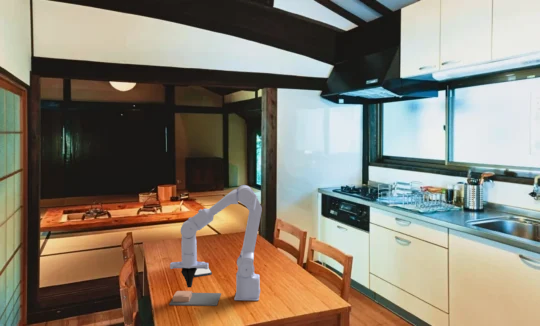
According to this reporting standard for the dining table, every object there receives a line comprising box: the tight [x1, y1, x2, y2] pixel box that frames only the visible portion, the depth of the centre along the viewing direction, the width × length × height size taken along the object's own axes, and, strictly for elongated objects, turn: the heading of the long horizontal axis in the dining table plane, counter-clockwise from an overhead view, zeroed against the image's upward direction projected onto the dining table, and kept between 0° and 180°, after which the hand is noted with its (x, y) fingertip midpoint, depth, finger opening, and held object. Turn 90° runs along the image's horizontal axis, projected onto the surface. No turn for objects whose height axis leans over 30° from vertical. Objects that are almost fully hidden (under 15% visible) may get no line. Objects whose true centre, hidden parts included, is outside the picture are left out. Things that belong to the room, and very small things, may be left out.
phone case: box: [194, 261, 213, 278], centre depth 172 cm, size 9×2×16 cm
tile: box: [172, 290, 193, 302], centre depth 141 cm, size 2×5×6 cm
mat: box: [169, 292, 222, 307], centre depth 141 cm, size 18×10×1 cm, turn 88°
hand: (189, 286), depth 140 cm, fingers closed
